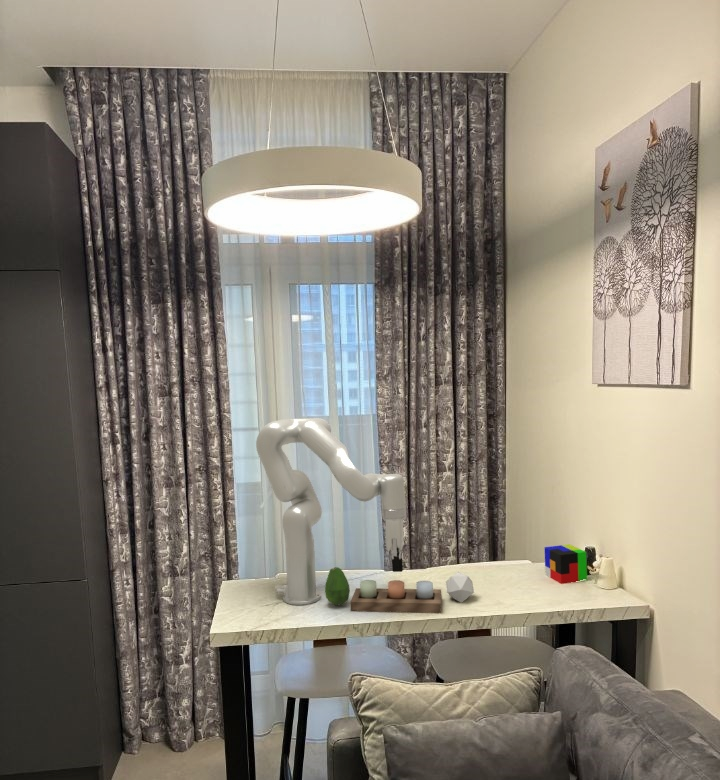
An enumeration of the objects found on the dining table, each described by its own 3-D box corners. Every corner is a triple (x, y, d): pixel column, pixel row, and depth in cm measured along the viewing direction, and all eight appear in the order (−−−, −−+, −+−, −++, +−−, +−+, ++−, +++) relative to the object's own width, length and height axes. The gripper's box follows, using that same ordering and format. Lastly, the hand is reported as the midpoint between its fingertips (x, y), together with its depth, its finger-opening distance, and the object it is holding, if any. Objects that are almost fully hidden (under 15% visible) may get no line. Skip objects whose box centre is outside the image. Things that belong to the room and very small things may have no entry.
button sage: (359, 597, 187) (358, 585, 187) (361, 592, 192) (361, 579, 192) (375, 598, 186) (375, 585, 186) (377, 592, 192) (377, 580, 191)
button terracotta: (387, 598, 186) (387, 585, 186) (389, 592, 191) (388, 580, 191) (404, 598, 185) (403, 586, 185) (405, 592, 190) (404, 580, 190)
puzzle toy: (545, 575, 211) (544, 547, 211) (570, 571, 213) (569, 544, 213) (561, 584, 201) (560, 555, 201) (587, 580, 204) (586, 551, 203)
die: (480, 603, 188) (477, 572, 194) (464, 596, 183) (462, 564, 189) (457, 608, 193) (455, 577, 199) (441, 601, 188) (440, 570, 194)
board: (350, 611, 184) (350, 601, 184) (356, 597, 196) (356, 588, 196) (441, 613, 180) (440, 603, 180) (441, 598, 192) (441, 589, 192)
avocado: (334, 598, 195) (333, 562, 195) (354, 602, 191) (353, 565, 191) (320, 607, 189) (319, 569, 188) (340, 611, 184) (339, 573, 184)
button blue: (416, 598, 184) (415, 586, 184) (417, 592, 190) (416, 580, 190) (433, 599, 184) (432, 586, 184) (433, 593, 189) (433, 580, 189)
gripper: (384, 508, 195) (388, 563, 196) (379, 519, 181) (383, 579, 181) (407, 507, 194) (411, 563, 195) (404, 518, 180) (407, 578, 180)
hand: (397, 570), depth 188 cm, fingers closed
